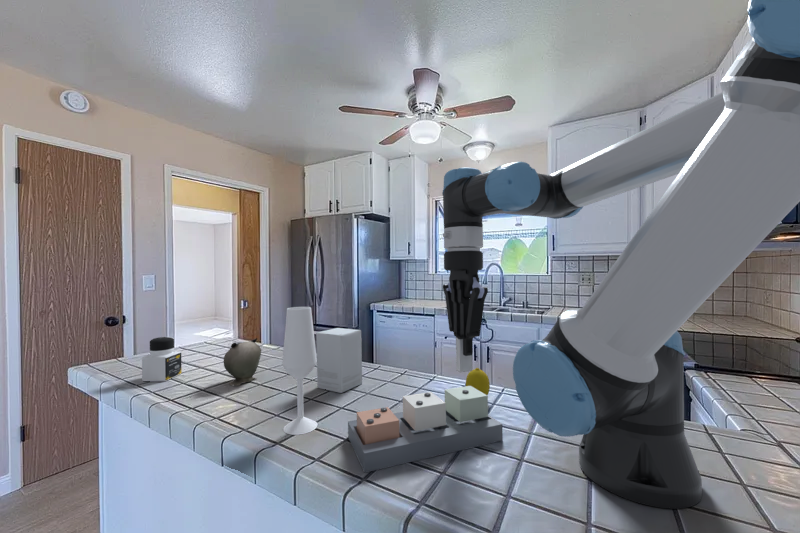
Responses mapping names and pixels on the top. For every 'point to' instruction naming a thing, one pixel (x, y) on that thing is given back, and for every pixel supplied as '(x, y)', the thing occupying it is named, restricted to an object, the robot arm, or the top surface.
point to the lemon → (478, 380)
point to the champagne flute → (299, 361)
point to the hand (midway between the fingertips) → (464, 370)
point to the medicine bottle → (161, 360)
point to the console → (424, 441)
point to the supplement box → (339, 359)
